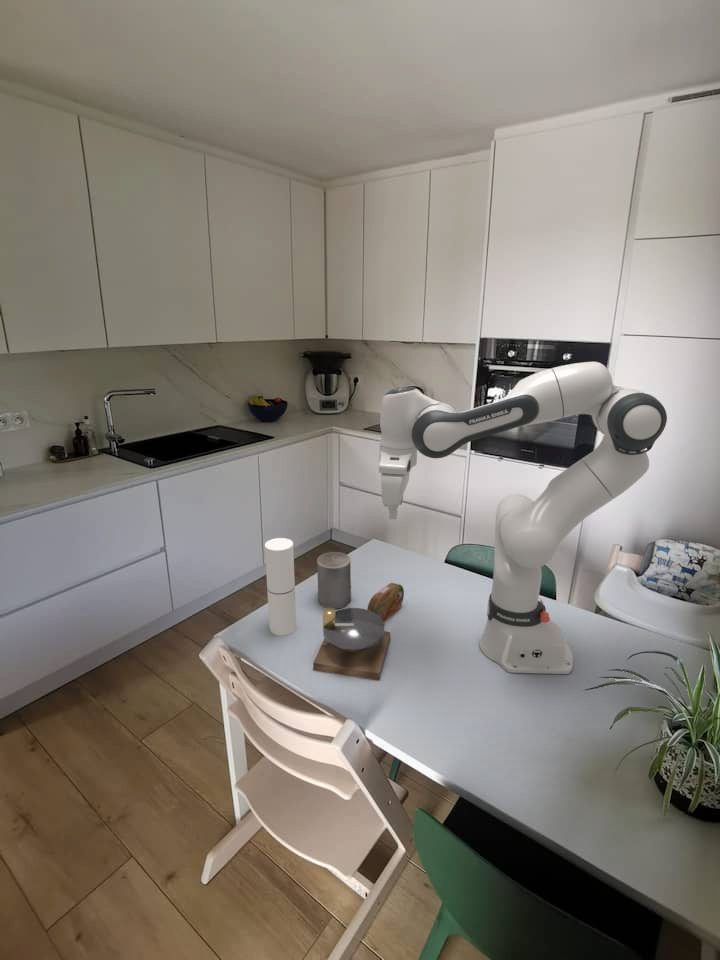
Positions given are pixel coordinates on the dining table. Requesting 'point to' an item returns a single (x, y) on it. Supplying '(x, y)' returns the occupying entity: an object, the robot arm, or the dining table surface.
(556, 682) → the dining table surface
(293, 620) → the cylindrical container
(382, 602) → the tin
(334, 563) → the pillar candle
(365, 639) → the dark grey round piece
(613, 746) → the dining table surface
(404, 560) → the dining table surface
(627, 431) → the robot arm
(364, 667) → the brown square flat block
